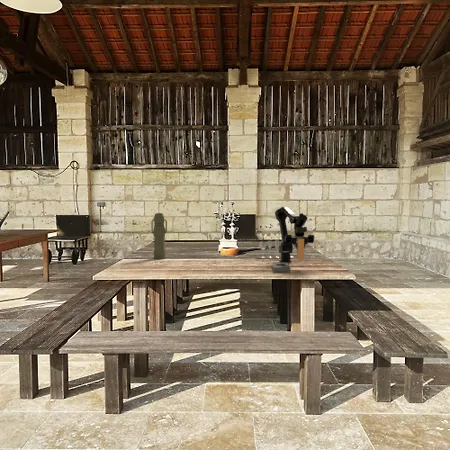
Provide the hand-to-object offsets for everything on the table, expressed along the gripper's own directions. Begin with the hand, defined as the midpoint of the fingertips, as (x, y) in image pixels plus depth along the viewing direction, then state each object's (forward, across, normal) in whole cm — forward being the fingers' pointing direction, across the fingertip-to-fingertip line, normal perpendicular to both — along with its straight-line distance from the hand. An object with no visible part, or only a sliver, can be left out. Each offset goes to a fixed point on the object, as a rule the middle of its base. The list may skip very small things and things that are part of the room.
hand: (300, 248), depth 259 cm
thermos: (-22, -102, +42) cm, 112 cm away
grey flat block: (+10, -13, +9) cm, 18 cm away
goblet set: (-29, -11, +48) cm, 57 cm away
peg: (+4, 0, +6) cm, 7 cm away
